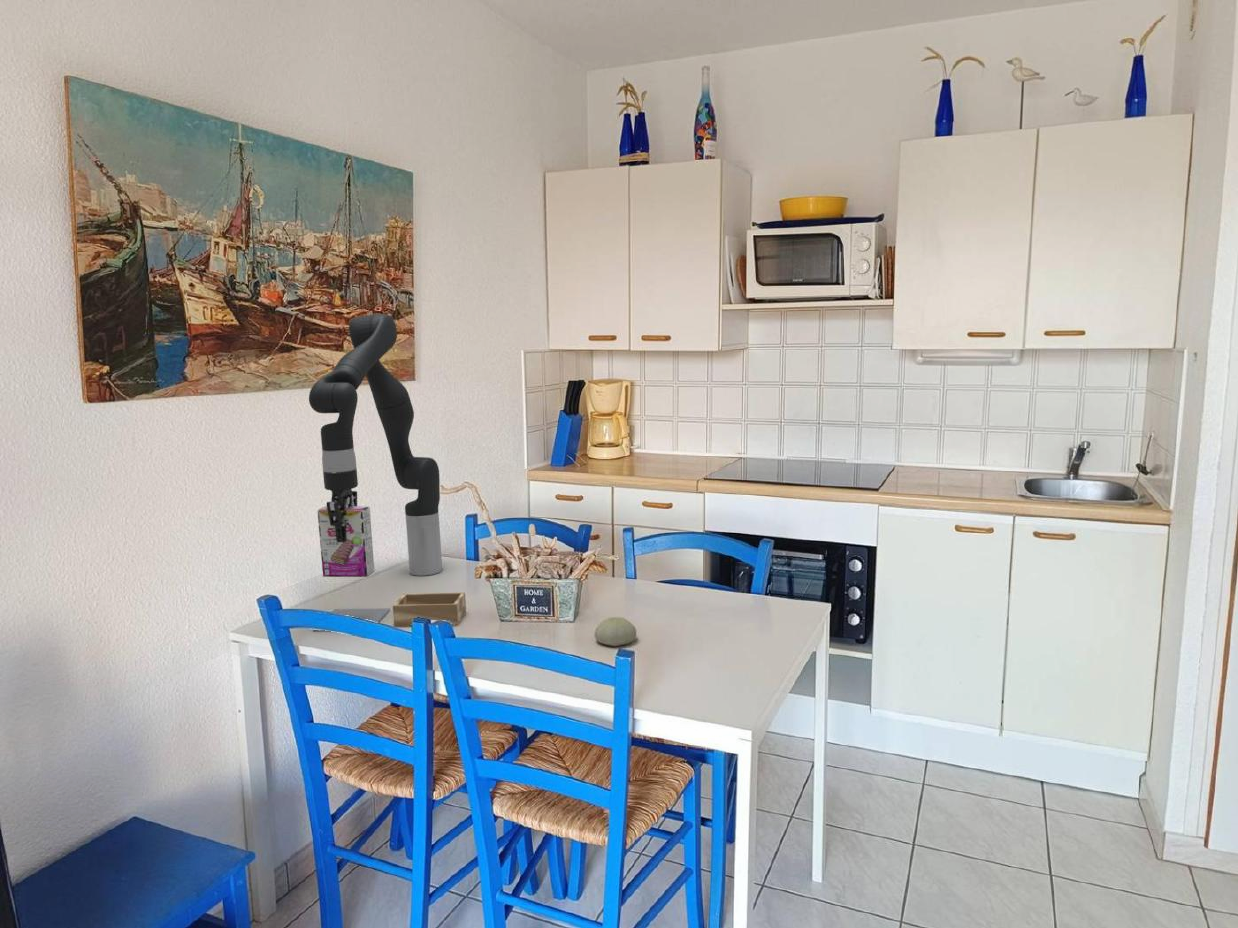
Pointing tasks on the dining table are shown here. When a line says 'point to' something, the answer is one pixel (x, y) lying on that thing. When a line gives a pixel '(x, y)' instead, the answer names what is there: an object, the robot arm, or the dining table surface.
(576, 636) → the dining table surface
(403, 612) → the caddy
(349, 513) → the candy bar box
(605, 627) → the sea urchin shell
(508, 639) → the dining table surface
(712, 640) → the dining table surface
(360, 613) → the coaster
